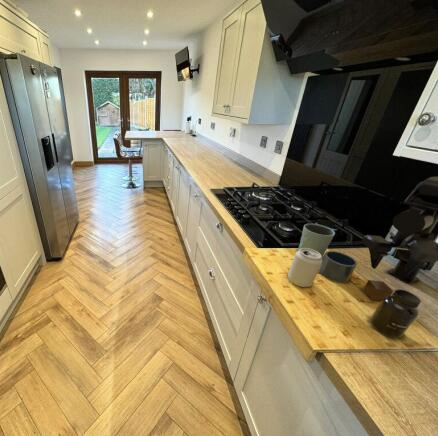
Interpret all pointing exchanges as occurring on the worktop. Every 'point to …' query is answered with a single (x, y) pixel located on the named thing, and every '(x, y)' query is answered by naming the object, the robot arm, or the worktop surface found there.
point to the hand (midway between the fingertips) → (389, 270)
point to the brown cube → (377, 290)
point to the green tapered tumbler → (316, 237)
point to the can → (305, 267)
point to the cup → (337, 266)
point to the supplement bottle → (395, 313)
